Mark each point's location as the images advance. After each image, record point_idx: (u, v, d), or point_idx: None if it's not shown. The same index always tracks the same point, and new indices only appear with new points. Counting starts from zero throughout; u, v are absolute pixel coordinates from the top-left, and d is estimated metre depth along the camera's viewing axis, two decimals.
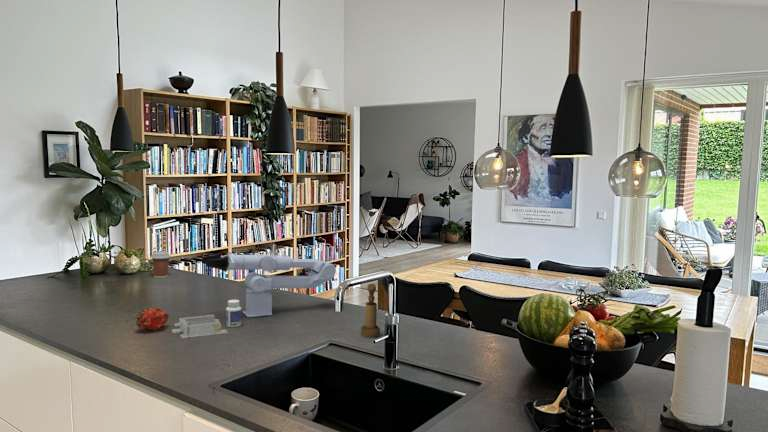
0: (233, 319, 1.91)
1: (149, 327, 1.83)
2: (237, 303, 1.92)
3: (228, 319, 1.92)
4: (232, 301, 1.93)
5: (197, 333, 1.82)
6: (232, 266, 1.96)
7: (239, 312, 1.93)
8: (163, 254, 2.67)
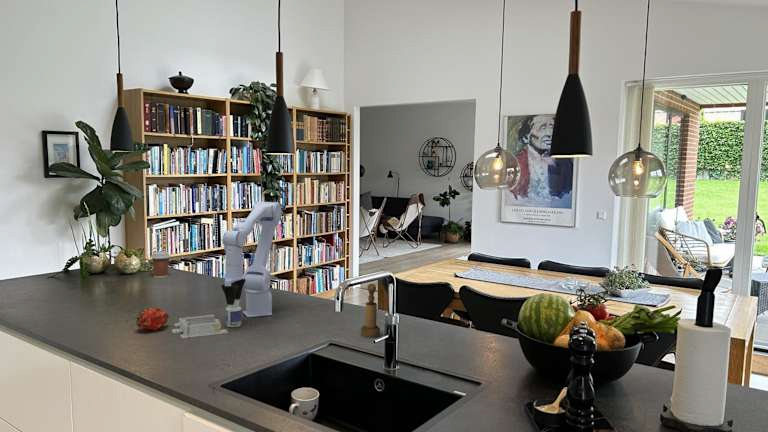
0: (233, 319, 1.91)
1: (149, 327, 1.83)
2: (237, 303, 1.92)
3: (228, 319, 1.92)
4: None
5: (197, 333, 1.82)
6: (229, 282, 1.85)
7: (239, 312, 1.93)
8: (163, 254, 2.67)
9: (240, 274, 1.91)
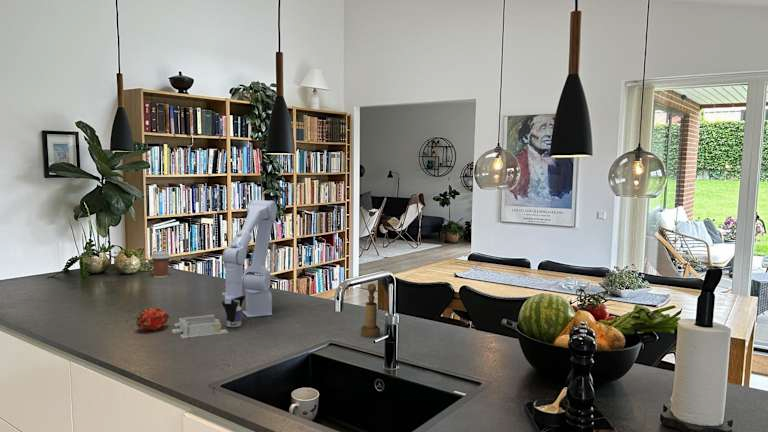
0: None
1: (149, 327, 1.83)
2: None
3: None
4: None
5: (197, 333, 1.82)
6: (228, 300, 1.86)
7: (239, 312, 1.93)
8: (163, 254, 2.67)
9: (240, 291, 1.92)
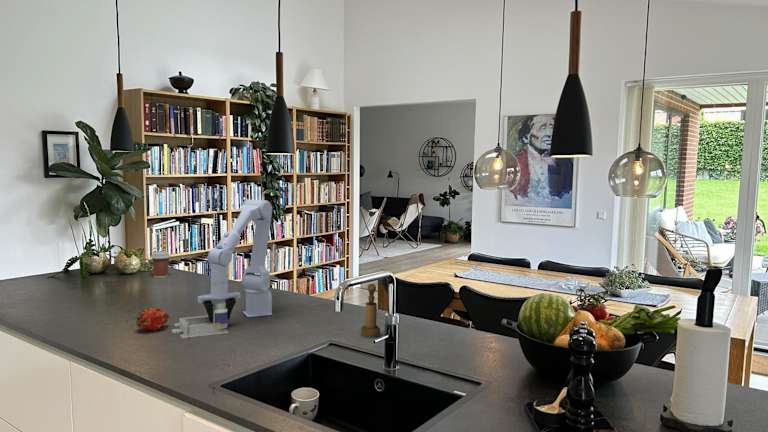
0: (217, 321, 1.88)
1: (149, 327, 1.83)
2: (222, 305, 1.89)
3: (213, 320, 1.89)
4: (218, 303, 1.90)
5: (197, 333, 1.82)
6: (198, 299, 1.86)
7: (224, 314, 1.89)
8: (163, 254, 2.67)
9: (218, 293, 1.88)
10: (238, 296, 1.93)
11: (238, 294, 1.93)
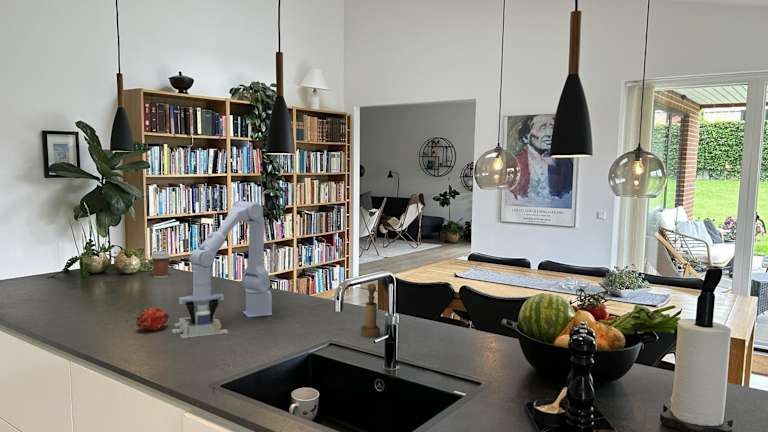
0: (200, 323, 1.85)
1: (149, 327, 1.83)
2: (205, 307, 1.86)
3: (195, 323, 1.86)
4: (200, 304, 1.87)
5: (197, 333, 1.82)
6: (179, 300, 1.84)
7: (207, 316, 1.86)
8: (163, 254, 2.67)
9: (200, 295, 1.85)
10: (221, 298, 1.90)
11: (221, 296, 1.90)
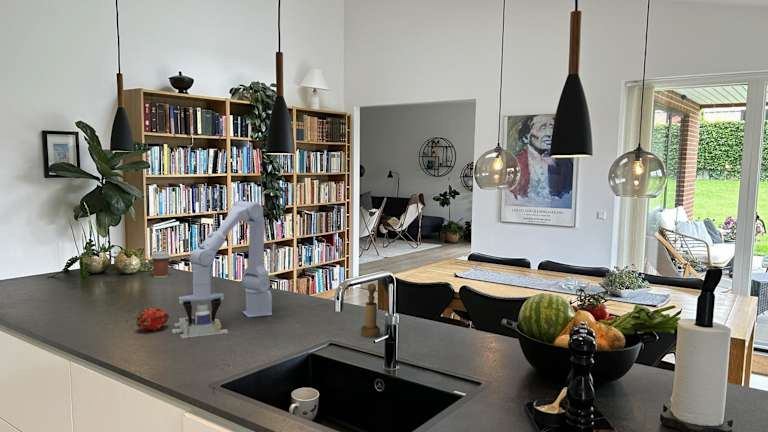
0: (199, 323, 1.85)
1: (149, 327, 1.83)
2: (205, 307, 1.86)
3: (195, 323, 1.86)
4: (200, 305, 1.87)
5: (197, 333, 1.82)
6: (179, 299, 1.84)
7: (207, 316, 1.86)
8: (163, 254, 2.67)
9: (200, 294, 1.85)
10: (221, 297, 1.90)
11: (221, 295, 1.90)
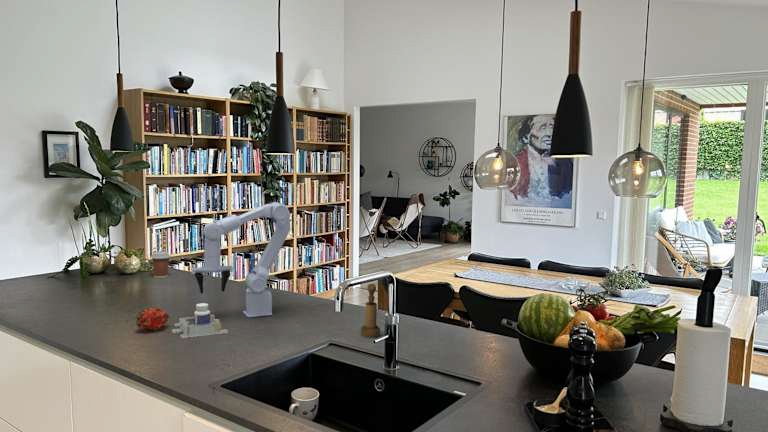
0: (199, 323, 1.85)
1: (149, 327, 1.83)
2: (205, 307, 1.86)
3: (195, 323, 1.86)
4: (200, 305, 1.87)
5: (197, 333, 1.82)
6: (192, 270, 1.96)
7: (207, 316, 1.86)
8: (163, 254, 2.67)
9: (211, 266, 1.97)
10: (230, 269, 2.03)
11: (230, 267, 2.03)
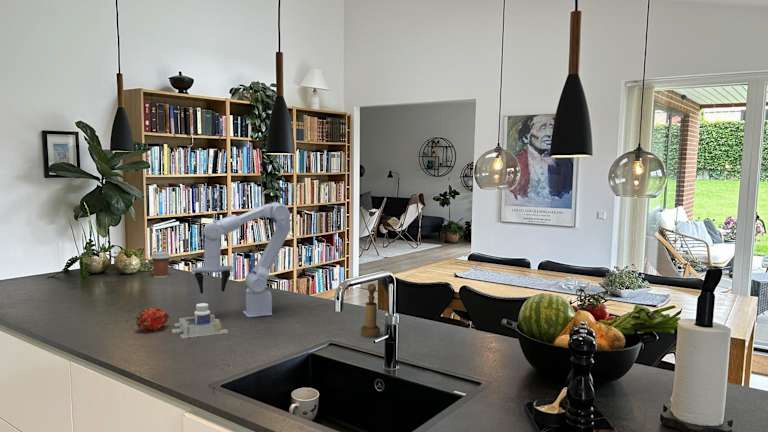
0: (199, 323, 1.85)
1: (149, 327, 1.83)
2: (205, 307, 1.86)
3: (195, 323, 1.86)
4: (200, 305, 1.87)
5: (197, 333, 1.82)
6: (192, 270, 1.96)
7: (207, 316, 1.86)
8: (163, 254, 2.67)
9: (211, 266, 1.97)
10: (230, 269, 2.03)
11: (230, 267, 2.03)
